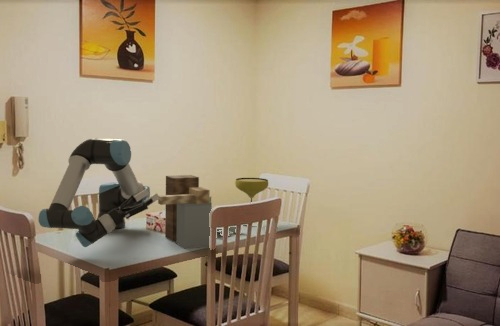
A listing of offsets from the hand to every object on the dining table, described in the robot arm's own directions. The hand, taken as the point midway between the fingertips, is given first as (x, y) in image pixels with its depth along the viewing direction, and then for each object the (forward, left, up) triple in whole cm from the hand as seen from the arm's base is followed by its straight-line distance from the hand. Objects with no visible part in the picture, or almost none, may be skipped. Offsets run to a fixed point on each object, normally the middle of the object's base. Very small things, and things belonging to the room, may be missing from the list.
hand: (152, 193), depth 240 cm
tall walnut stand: (-21, +13, -25) cm, 35 cm away
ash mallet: (-5, +13, -5) cm, 15 cm away
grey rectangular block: (-7, +19, -25) cm, 32 cm away
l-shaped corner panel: (-26, +36, -26) cm, 52 cm away
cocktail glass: (-51, +52, -25) cm, 77 cm away
